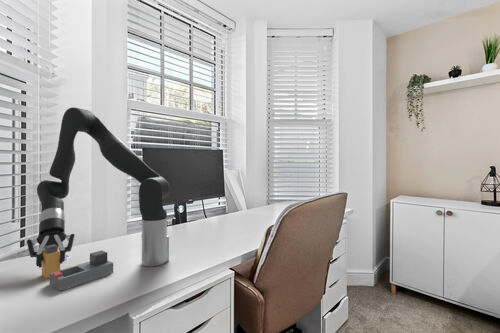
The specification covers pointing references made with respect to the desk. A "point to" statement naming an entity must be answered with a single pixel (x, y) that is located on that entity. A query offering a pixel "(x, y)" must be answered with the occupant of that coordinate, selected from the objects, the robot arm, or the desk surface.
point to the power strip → (82, 271)
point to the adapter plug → (50, 260)
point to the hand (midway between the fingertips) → (50, 264)
